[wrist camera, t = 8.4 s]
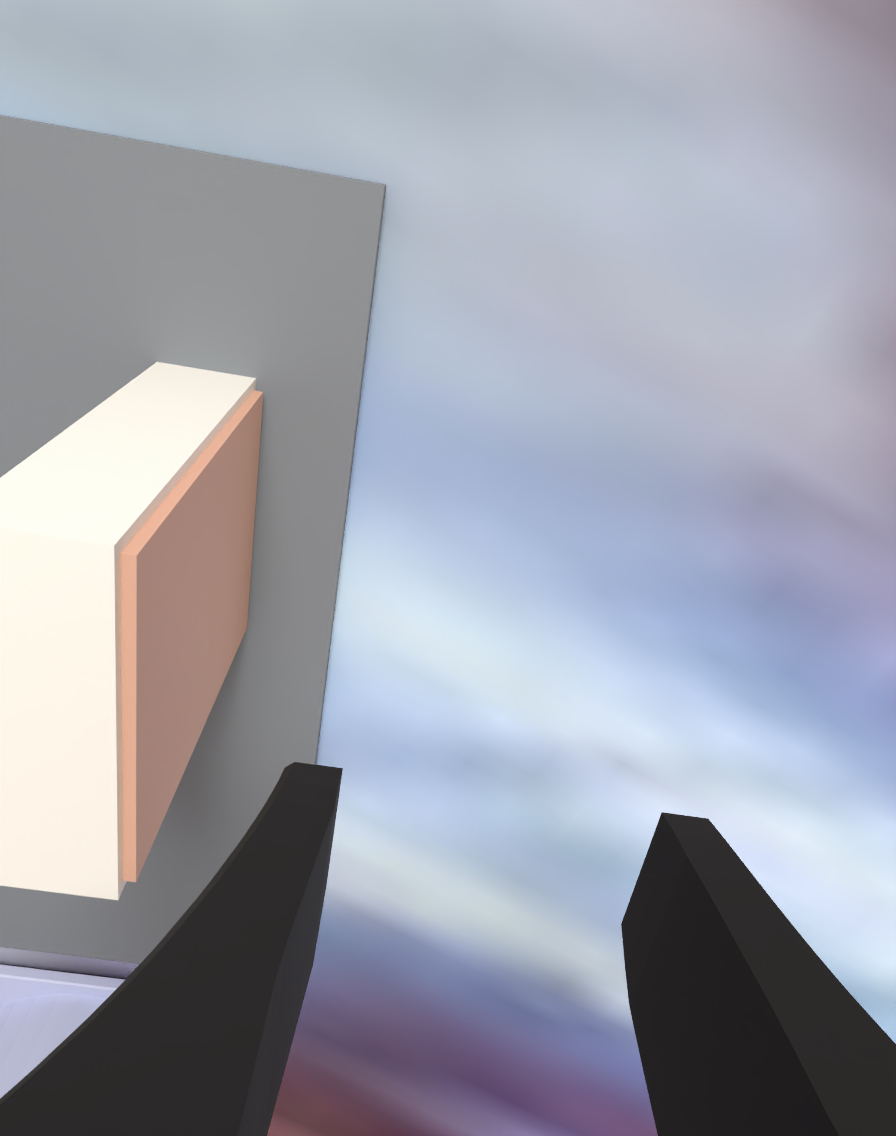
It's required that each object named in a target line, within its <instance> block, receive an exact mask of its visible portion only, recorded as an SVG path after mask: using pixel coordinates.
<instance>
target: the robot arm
mask: <svg viewBox="0 0 896 1136" xmlns="http://www.w3.org/2000/svg"><path fill="white" fill-rule="evenodd" d="M342 769H343V768H336V767H329V766H321V765H314V764H307V763H300V762H293V763H292V764H290V765H288V766H287V767H285V768H284V770H283V772H282V774H281V776H280V778H279V780H278V782H277V784H276V786H275V788H274V789H273V791H272V793H271V795H270V796H269V798H268V800H267V801H266V803H265V805H264V806H263V808H262V809H261V811H260V813H259V814H258V816H257V817H256V819H255V820H254V822H253V823H252V825H251V826H250V828H249V829H248V831H247V832H246V834H245V835H244V837H243V838H242V839H241V841H240V842H239V844H238V845H237V846H236V848H235V849H234V850H233V852H232V853H231V854H230V856H229V857H228V858H227V860H226V861H225V862H224V864H223V865H222V866H221V868H220V869H219V870H218V872H217V873H216V874H215V876H214V877H213V878H212V880H211V881H210V882H209V884H208V885H207V886H206V888H205V889H204V890H203V891H202V893H201V894H200V895H199V896H198V897H197V899H196V900H195V901H194V902H193V903H192V905H191V906H190V907H189V908H188V909H187V910H186V912H185V913H184V914H183V915H182V916H181V918H180V919H179V920H178V921H177V922H176V924H175V925H174V926H173V927H172V928H171V929H170V931H169V932H168V933H167V934H166V935H165V937H164V938H163V939H162V940H161V941H160V942H159V944H158V945H157V946H156V947H155V948H154V949H153V950H152V951H151V953H150V954H149V955H148V956H147V957H146V958H145V959H144V960H143V961H142V962H141V963H140V965H139V966H138V967H137V968H136V969H135V970H134V971H133V972H132V973H131V974H130V975H129V976H128V977H127V978H126V979H117V978H109V977H101V976H92V975H84V974H76V973H67V972H59V971H51V970H43V969H34V968H26V967H18V966H9V965H1V964H0V1136H267V1133H268V1129H269V1125H270V1122H271V1118H272V1114H273V1111H274V1107H275V1103H276V1100H277V1096H278V1092H279V1088H280V1085H281V1081H282V1077H283V1074H284V1070H285V1066H286V1062H287V1059H288V1055H289V1051H290V1048H291V1044H292V1040H293V1037H294V1033H295V1029H296V1025H297V1022H298V1018H299V1014H300V1010H301V1007H302V1003H303V999H304V996H305V992H306V988H307V984H308V981H309V977H310V973H311V969H312V966H313V960H314V954H315V948H316V943H317V937H318V931H319V925H320V919H321V913H322V908H323V902H324V896H325V890H326V884H327V877H328V869H329V862H330V855H331V848H332V841H333V834H334V826H335V819H336V812H337V805H338V798H339V790H340V783H341V776H342ZM621 925H622V937H623V948H624V960H625V970H626V979H627V988H628V997H629V1005H630V1010H631V1015H632V1020H633V1025H634V1029H635V1034H636V1038H637V1043H638V1048H639V1052H640V1057H641V1062H642V1066H643V1071H644V1075H645V1080H646V1084H647V1089H648V1093H649V1098H650V1102H651V1107H652V1111H653V1116H654V1120H655V1124H656V1129H657V1133H658V1136H896V1044H895V1043H894V1042H893V1041H892V1040H891V1038H890V1037H889V1036H888V1035H887V1034H886V1033H885V1032H884V1031H883V1030H882V1029H881V1027H880V1026H879V1025H878V1024H877V1023H876V1022H875V1021H874V1020H873V1019H872V1018H871V1016H870V1015H869V1014H868V1013H867V1012H866V1011H865V1010H864V1009H863V1008H862V1006H861V1005H860V1004H859V1003H858V1002H857V1001H856V1000H855V999H854V998H853V997H852V995H851V994H850V993H849V992H848V991H847V990H846V988H845V987H844V986H843V985H842V984H841V983H840V982H839V980H838V979H837V978H836V977H835V976H834V975H833V973H832V972H831V971H830V970H829V969H828V968H827V966H826V965H825V964H824V963H823V962H822V960H821V959H820V958H819V957H818V956H817V955H816V953H815V952H814V951H813V950H812V948H811V947H810V946H809V945H808V944H807V942H806V941H805V940H804V939H803V938H802V936H801V935H800V934H799V933H798V931H797V930H796V929H795V928H794V927H793V925H792V924H791V923H790V922H789V920H788V919H787V918H786V917H785V915H784V914H783V913H782V912H781V910H780V909H779V908H778V907H777V905H776V904H775V903H774V902H773V900H772V899H771V898H770V896H769V895H768V894H767V893H766V891H765V890H764V889H763V888H762V886H761V885H760V884H759V883H758V881H757V880H756V879H755V877H754V876H753V875H752V874H751V872H750V871H749V870H748V868H747V867H746V866H745V865H744V863H743V862H742V861H741V859H740V858H739V857H738V856H737V854H736V853H735V852H734V850H733V849H732V848H731V847H730V845H729V844H728V843H727V842H726V840H725V839H724V838H723V837H722V835H721V834H720V833H719V832H718V830H717V829H716V828H715V827H714V825H713V824H712V823H711V822H710V821H709V819H706V818H699V817H692V816H684V815H677V814H670V813H663V812H662V814H661V816H660V819H659V822H658V825H657V827H656V830H655V833H654V836H653V838H652V841H651V844H650V847H649V849H648V852H647V855H646V858H645V860H644V863H643V866H642V869H641V871H640V874H639V877H638V880H637V882H636V885H635V888H634V891H633V893H632V896H631V899H630V902H629V904H628V907H627V910H626V913H625V915H624V918H623V921H622V924H621Z"/></svg>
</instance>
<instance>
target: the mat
mask: <svg viewBox="0 0 896 1136" xmlns="http://www.w3.org/2000/svg"><path fill="white" fill-rule="evenodd" d="M385 190H386V185H385V184H380V183H374V182H369V181H363V180H357V179H352V178H346V177H341V176H335V175H330V174H324V173H319V172H313V171H308V170H302V169H297V168H291V167H285V166H280V165H274V164H269V163H263V162H258V161H252V160H247V159H241V158H236V157H230V156H225V155H219V154H213V153H208V152H202V151H197V150H191V149H186V148H180V147H175V146H169V145H164V144H158V143H153V142H147V141H141V140H136V139H130V138H125V137H119V136H114V135H108V134H103V133H97V132H92V131H86V130H81V129H75V128H69V127H64V126H58V125H53V124H47V123H42V122H36V121H31V120H25V119H20V118H14V117H9V116H3V115H0V478H1V477H2V476H3V475H5V474H6V473H7V472H9V471H10V470H11V469H13V468H14V467H16V466H17V465H18V464H20V463H21V462H22V461H24V460H25V459H26V458H28V457H29V456H30V455H32V454H33V453H34V452H36V451H37V450H39V449H40V448H41V447H43V446H44V445H45V444H47V443H48V442H49V441H51V440H52V439H53V438H55V437H56V436H57V435H59V434H60V433H62V432H63V431H64V430H66V429H67V428H68V427H70V426H71V425H72V424H74V423H75V422H76V421H78V420H79V419H80V418H82V417H83V416H85V415H86V414H87V413H89V412H90V411H91V410H93V409H94V408H95V407H97V406H98V405H99V404H101V403H102V402H103V401H105V400H106V399H107V398H109V397H110V396H112V395H113V394H114V393H116V392H117V391H118V390H120V389H121V388H122V387H124V386H125V385H126V384H128V383H129V382H130V381H132V380H133V379H135V378H136V377H137V376H139V375H140V374H141V373H143V372H144V371H145V370H147V369H148V368H149V367H151V366H152V365H153V364H155V363H156V362H161V363H167V364H173V365H179V366H185V367H191V368H198V369H204V370H210V371H216V372H222V373H228V374H234V375H240V376H246V377H252V378H256V390H255V391H261V392H263V405H262V420H261V434H260V449H259V463H258V478H257V492H256V506H255V521H254V535H253V550H252V564H251V579H250V593H249V608H248V622H247V629H246V631H245V633H244V636H243V638H242V640H241V643H240V645H239V647H238V649H237V652H236V654H235V656H234V659H233V661H232V663H231V666H230V668H229V670H228V672H227V675H226V677H225V679H224V682H223V684H222V686H221V688H220V691H219V693H218V695H217V698H216V700H215V702H214V705H213V707H212V709H211V711H210V714H209V716H208V718H207V721H206V723H205V725H204V728H203V730H202V732H201V734H200V737H199V739H198V741H197V744H196V746H195V748H194V750H193V753H192V755H191V757H190V760H189V762H188V764H187V767H186V769H185V771H184V773H183V776H182V778H181V780H180V783H179V785H178V787H177V790H176V792H175V794H174V796H173V799H172V801H171V803H170V806H169V808H168V810H167V812H166V815H165V817H164V819H163V822H162V824H161V826H160V829H159V831H158V833H157V835H156V838H155V840H154V842H153V845H152V847H151V849H150V852H149V854H148V856H147V858H146V861H145V863H144V865H143V868H142V870H141V872H140V874H139V877H138V879H137V881H136V882H130V881H127V882H126V884H125V886H124V889H123V891H122V893H121V895H120V898H119V900H111V899H103V898H95V897H87V896H79V895H72V894H64V893H56V892H48V891H40V890H32V889H24V888H16V887H8V886H0V947H7V948H15V949H23V950H31V951H40V952H48V953H56V954H64V955H72V956H81V957H89V958H97V959H105V960H113V961H122V962H130V963H138V964H140V963H141V962H142V961H143V960H144V959H145V958H146V957H147V956H148V955H149V954H150V953H151V951H152V950H153V949H154V948H155V947H156V946H157V945H158V944H159V942H160V941H161V940H162V939H163V938H164V937H165V935H166V934H167V933H168V932H169V931H170V929H171V928H172V927H173V926H174V925H175V924H176V922H177V921H178V920H179V919H180V918H181V916H182V915H183V914H184V913H185V912H186V910H187V909H188V908H189V907H190V906H191V905H192V903H193V902H194V901H195V900H196V899H197V897H198V896H199V895H200V894H201V893H202V891H203V890H204V889H205V888H206V886H207V885H208V884H209V882H210V881H211V880H212V878H213V877H214V876H215V874H216V873H217V872H218V870H219V869H220V868H221V866H222V865H223V864H224V862H225V861H226V860H227V858H228V857H229V856H230V854H231V853H232V852H233V850H234V849H235V848H236V846H237V845H238V844H239V842H240V841H241V839H242V838H243V837H244V835H245V834H246V832H247V831H248V829H249V828H250V826H251V825H252V823H253V822H254V820H255V819H256V817H257V816H258V814H259V813H260V811H261V809H262V808H263V806H264V805H265V803H266V801H267V800H268V798H269V796H270V795H271V793H272V791H273V789H274V788H275V786H276V784H277V782H278V780H279V778H280V776H281V774H282V772H283V770H284V768H285V767H287V766H288V765H290V764H292V763H293V762H300V763H307V764H314V765H316V759H317V751H318V743H319V735H320V726H321V718H322V710H323V702H324V693H325V685H326V677H327V669H328V660H329V652H330V644H331V636H332V627H333V619H334V611H335V603H336V594H337V586H338V578H339V570H340V561H341V553H342V545H343V537H344V528H345V520H346V512H347V504H348V495H349V487H350V479H351V471H352V462H353V454H354V446H355V438H356V429H357V421H358V413H359V405H360V396H361V388H362V380H363V372H364V363H365V355H366V347H367V339H368V330H369V322H370V314H371V306H372V297H373V289H374V281H375V273H376V264H377V256H378V248H379V240H380V231H381V223H382V215H383V207H384V198H385Z"/></svg>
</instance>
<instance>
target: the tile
mask: <svg viewBox="0 0 896 1136" xmlns="http://www.w3.org/2000/svg"><path fill="white" fill-rule="evenodd" d="M255 390H256V378H252V377H246V376H240V375H234V374H228V373H222V372H216V371H210V370H204V369H198V368H191V367H185V366H179V365H173V364H167V363H161V362H156V363H155V364H153V365H152V366H151V367H149V368H148V369H147V370H145V371H144V372H143V373H141V374H140V375H139V376H137V377H136V378H135V379H133V380H132V381H130V382H129V383H128V384H126V385H125V386H124V387H122V388H121V389H120V390H118V391H117V392H116V393H114V394H113V395H112V396H110V397H109V398H107V399H106V400H105V401H103V402H102V403H101V404H99V405H98V406H97V407H95V408H94V409H93V410H91V411H90V412H89V413H87V414H86V415H85V416H83V417H82V418H80V419H79V420H78V421H76V422H75V423H74V424H72V425H71V426H70V427H68V428H67V429H66V430H64V431H63V432H62V433H60V434H59V435H57V436H56V437H55V438H53V439H52V440H51V441H49V442H48V443H47V444H45V445H44V446H43V447H41V448H40V449H39V450H37V451H36V452H34V453H33V454H32V455H30V456H29V457H28V458H26V459H25V460H24V461H22V462H21V463H20V464H18V465H17V466H16V467H14V468H13V469H11V470H10V471H9V472H7V473H6V474H5V475H3V476H2V477H1V478H0V886H8V887H16V888H24V889H32V890H40V891H48V892H56V893H64V894H72V895H79V896H87V897H95V898H103V899H111V900H119V898H120V895H121V893H122V891H123V889H124V886H125V884H126V882H127V881H130V882H136V881H137V879H138V877H139V874H140V872H141V870H142V868H143V865H144V863H145V861H146V858H147V856H148V854H149V852H150V849H151V847H152V845H153V842H154V840H155V838H156V835H157V833H158V831H159V829H160V826H161V824H162V822H163V819H164V817H165V815H166V812H167V810H168V808H169V806H170V803H171V801H172V799H173V796H174V794H175V792H176V790H177V787H178V785H179V783H180V780H181V778H182V776H183V773H184V771H185V769H186V767H187V764H188V762H189V760H190V757H191V755H192V753H193V750H194V748H195V746H196V744H197V741H198V739H199V737H200V734H201V732H202V730H203V728H204V725H205V723H206V721H207V718H208V716H209V714H210V711H211V709H212V707H213V705H214V702H215V700H216V698H217V695H218V693H219V691H220V688H221V686H222V684H223V682H224V679H225V677H226V675H227V672H228V670H229V668H230V666H231V663H232V661H233V659H234V656H235V654H236V652H237V649H238V647H239V645H240V643H241V640H242V638H243V636H244V633H245V631H246V629H247V622H248V608H249V593H250V579H251V564H252V550H253V535H254V521H255V506H256V492H257V478H258V463H259V449H260V434H261V420H262V405H263V392H261V391H255Z"/></svg>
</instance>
